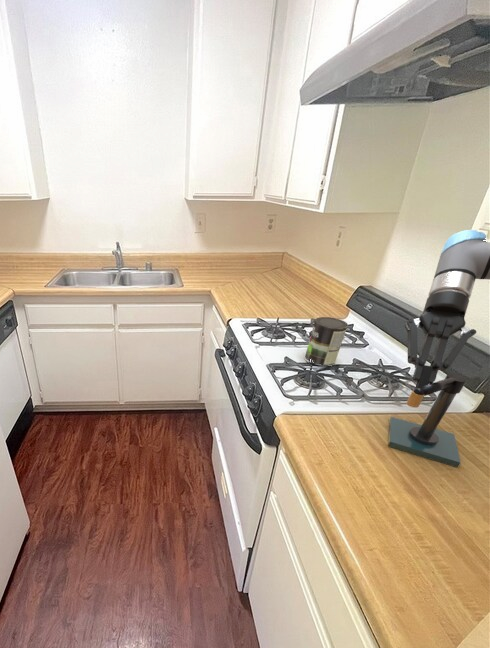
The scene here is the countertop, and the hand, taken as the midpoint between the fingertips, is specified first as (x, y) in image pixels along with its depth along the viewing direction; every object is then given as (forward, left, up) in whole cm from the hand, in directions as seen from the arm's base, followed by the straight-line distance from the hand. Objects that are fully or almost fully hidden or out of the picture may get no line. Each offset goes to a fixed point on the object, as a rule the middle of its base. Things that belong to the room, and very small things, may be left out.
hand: (418, 395), depth 75 cm
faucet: (-6, -6, -15) cm, 17 cm away
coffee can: (+23, -40, -15) cm, 49 cm away
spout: (-3, -1, 0) cm, 3 cm away
